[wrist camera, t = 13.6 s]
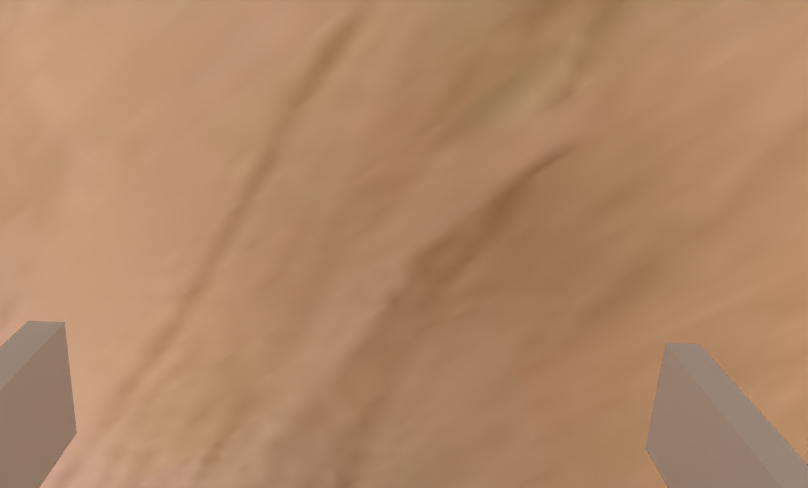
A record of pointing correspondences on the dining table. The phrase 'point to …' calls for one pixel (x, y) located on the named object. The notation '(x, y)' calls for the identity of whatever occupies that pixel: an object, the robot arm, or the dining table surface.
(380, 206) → the dining table surface
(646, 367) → the dining table surface
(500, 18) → the dining table surface
